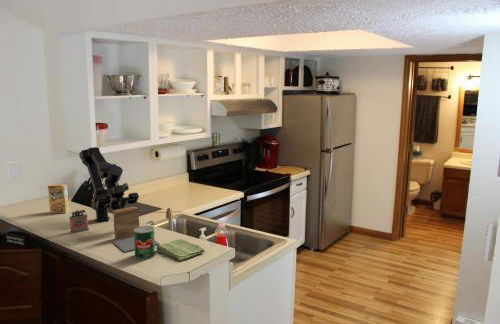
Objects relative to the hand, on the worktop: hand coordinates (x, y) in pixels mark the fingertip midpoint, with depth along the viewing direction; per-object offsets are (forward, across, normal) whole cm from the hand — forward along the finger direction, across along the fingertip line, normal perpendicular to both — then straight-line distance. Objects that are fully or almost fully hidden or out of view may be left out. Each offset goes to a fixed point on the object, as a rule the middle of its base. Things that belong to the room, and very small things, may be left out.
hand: (122, 216), depth 195 cm
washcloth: (+32, +11, -18) cm, 38 cm away
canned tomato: (+28, -2, -14) cm, 31 cm away
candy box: (-35, -15, +47) cm, 61 cm away
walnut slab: (+9, 0, +3) cm, 10 cm away
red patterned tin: (-7, -15, +19) cm, 25 cm away
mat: (+16, 0, -4) cm, 17 cm away
